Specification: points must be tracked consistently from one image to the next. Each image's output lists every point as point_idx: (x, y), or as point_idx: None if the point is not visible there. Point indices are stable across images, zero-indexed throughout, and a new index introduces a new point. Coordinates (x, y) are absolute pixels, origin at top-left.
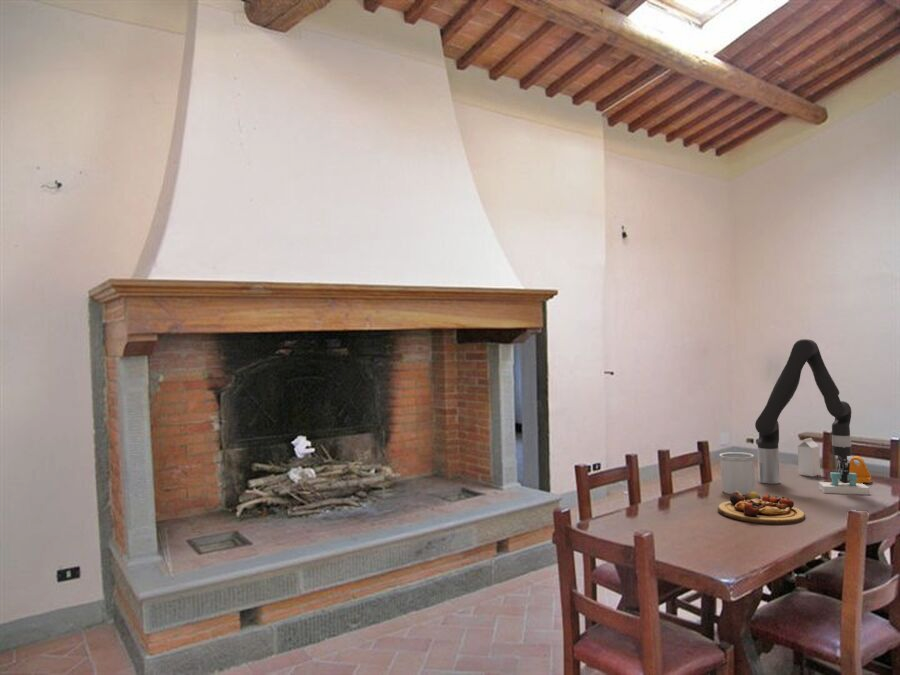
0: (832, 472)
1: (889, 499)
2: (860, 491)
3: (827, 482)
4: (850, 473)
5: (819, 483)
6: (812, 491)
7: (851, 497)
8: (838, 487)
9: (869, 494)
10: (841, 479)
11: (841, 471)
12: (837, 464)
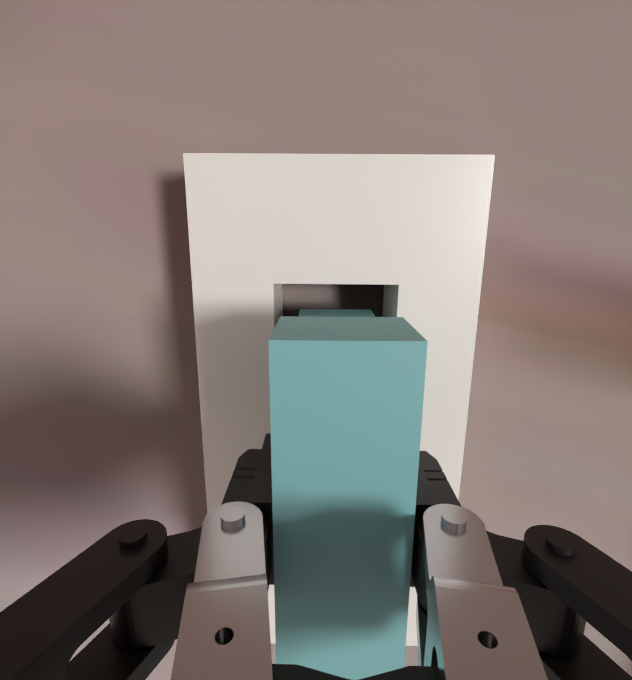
0: (413, 388)
1: None
2: None
3: (475, 278)
4: (337, 665)
5: (448, 157)
6: (269, 36)
7: (60, 403)
8: (198, 347)
9: None
10: None
11: (212, 556)
12: (491, 678)
